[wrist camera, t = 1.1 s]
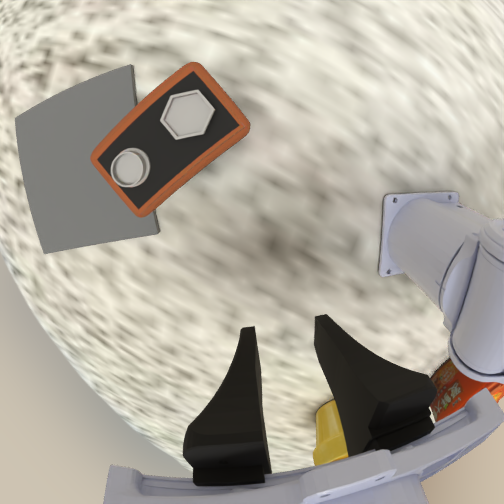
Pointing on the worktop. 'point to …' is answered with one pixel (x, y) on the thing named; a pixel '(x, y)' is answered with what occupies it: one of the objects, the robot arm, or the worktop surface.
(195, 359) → the worktop surface
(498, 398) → the food container
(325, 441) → the plant pot
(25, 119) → the mat
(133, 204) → the battery
